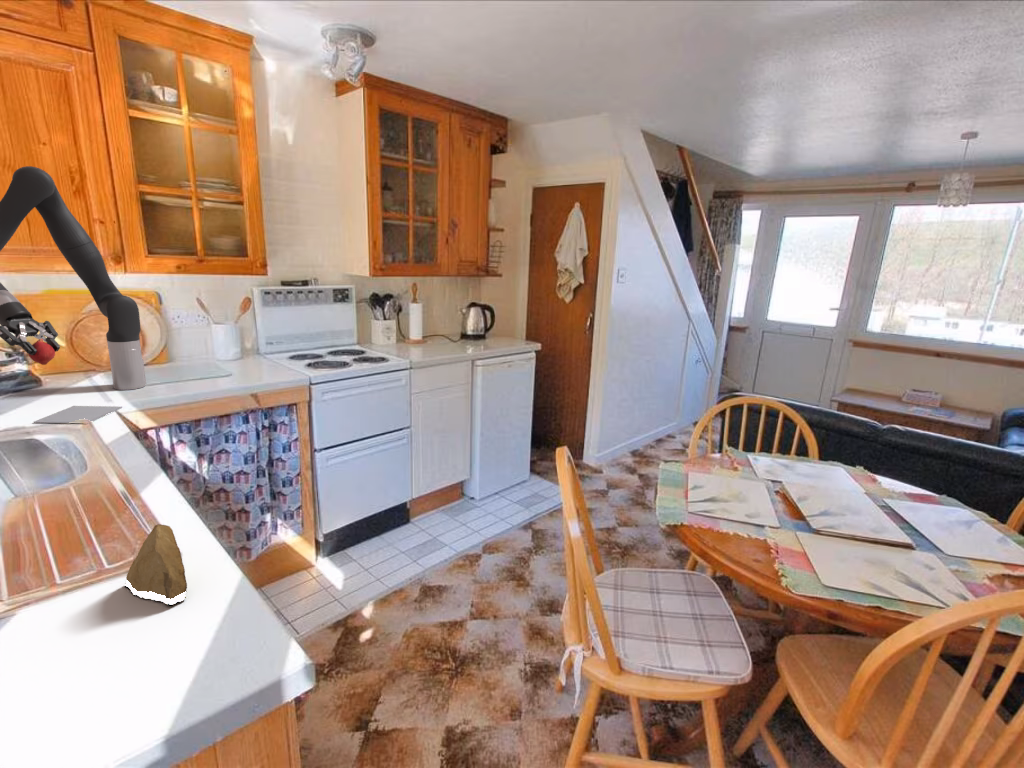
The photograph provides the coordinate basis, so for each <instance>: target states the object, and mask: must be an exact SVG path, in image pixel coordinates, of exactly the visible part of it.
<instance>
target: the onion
mask: <svg viewBox="0 0 1024 768" xmlns="http://www.w3.org/2000/svg"><path fill="white" fill-rule="evenodd" d="M31 345H32V346H33V347H34V348H35V349H36V350H37V352H36V354H35V355H30V354H28V357H29V358H30V359H31V360H32V361H33V362H35V363H37V364H40V365H42V366H45V365H47V364H49V362H51V361H52V360H53V359H54V358H55V356H56V352H55V351H54V349H53V347H52V346H50V345H49V344H47V342H45V341H43V339H37V341H36V342H34V343H32V344H31Z"/></svg>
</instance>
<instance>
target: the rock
mask: <svg viewBox="0 0 1024 768" xmlns="http://www.w3.org/2000/svg"><path fill="white" fill-rule="evenodd" d="M185 572H186V569H185V565H184V562H183V557H182V554H181V549H180V547H179V546H178V543H177V540H176V536H175V534H174V530H173V529H172V528H171V526H170V525H166V524H160V523H158V524H155V525H154V527H153V528H152V530H151V531H150V532H149V533H148V535H147V536H146V538H145V540H143V543H142V545H141V547H140V549H139V550H138V553H137V556H136V558H135V559H134V560H133V561H132V564H131V565H130V567H129V570H128V571H127V574H126V580H128V581H129V582H130V583H131V585H132V587H133V588H135V589H136V590H137V591H147V592H149V591H152V592H155V593H157V594H161V595H165V596H166V598H170V599H171V598H174V597H175V596H177V595H179V594H181V593H183V592H185V591H186V592H187V590H188V583H187V578H186V573H185Z"/></svg>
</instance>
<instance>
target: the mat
mask: <svg viewBox="0 0 1024 768" xmlns="http://www.w3.org/2000/svg"><path fill="white" fill-rule="evenodd" d="M122 408H123V406H115V405H113V406H111V405H110V406H109V405H107V406H106V405H105V406H103V405H102V406H101V405H100V406H99V405H72V406H70V407H67V408H65V409H64V408H63V409H62V410H60V411H57V412H55V413H51V414H50V415H47V416H45V417H42V418H39V419H37V420H34V421H33V422H34V423H69V422H72V421H75V420H79V419H84V418H85V419H88V420H90V421H93V422H95V421H97V420H100V419H101V418H103V416H104V415H106V414H108V413H110V414H112V413H115V412H117V411H118V410H120V409H121V410H122ZM111 412H112V413H111ZM108 415H109V414H108ZM106 416H107V415H106ZM104 417H105V416H104Z"/></svg>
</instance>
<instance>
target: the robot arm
mask: <svg viewBox="0 0 1024 768" xmlns="http://www.w3.org/2000/svg"><path fill="white" fill-rule="evenodd" d="M34 209H35V210H36V211H37V212H38V213H39V215H40V216H41V218H42V219H43V222H44V223H45V226H46V228H47V229H48V232H49V234H50V236H51V238H52V240H53V242H54V243H55V245H56V247H57V248H58V250H59V252H60V253H61V255H63V257H64V259H65V260H66V261H67V262H68V264H69V265H70V267H71V268H72V269H73V271H74V272H75V274H76V275H77V276H78V278H80V280H81V281H82V282H83V283H84V285H85V286H86V288H87V289H88V292H89V293H90V295H91V296H92V298H93V300H94V302H95V305H96V306H97V308H98V309H99V311H100V313H101V314H102V315H103V316H104V317H105V318H107V322H108V324H107V325H108V330H107V332H106V334H105V335H106V336H105V337H106V343H107V349H108V356H109V363H110V370H111V376H112V384H113V388H114V389H115V390H120V391H121V390H122V391H123V390H124V391H127V390H128V391H129V390H136V389H141V388H144V387H146V385H147V379H146V371H145V364H144V359H143V355H142V348H141V341H140V340H141V339H140V334H141V330H142V329H141V319H140V317H141V316H140V310H139V305H138V303H137V302H136V301H135V299H133V298H132V297H130V296H127V295H125V294H122V293H121V292H120V290H119V289H118V288H117V287H116V285H115V283H114V282H113V281H112V279H111V277H110V276H109V274H108V270H107V267H106V264H105V261H104V258H103V256H102V254H101V252H100V251H99V249H98V247H97V245H96V244H95V243H94V241H93V239H92V238H91V237H90V235H89V234H88V233H87V231H86V230H85V229H84V227H83V226H82V224H80V222H79V221H78V219H77V218H76V217H75V216H74V215H73V214H72V212H71V211H70V209H69V208H68V206H67V205H66V202H65V201H64V199H63V197H62V196H61V194H60V191H59V189H58V188H57V186H56V182H55V181H54V179H53V177H52V175H50V174H49V173H48V172H47V171H45V170H44V169H41V168H39V167H36V166H30V165H29V166H26V165H25V166H22V167H20V168H18V169H16V170H15V171H14V172H13V174H12V179H11V181H10V183H9V186H8V188H7V190H6V192H5V194H4V195H3V197H2V198H1V200H0V252H2V250H3V249H4V247H6V246H7V244H8V242H9V241H10V240H11V239H12V237H13V236H14V234H15V233H16V232H17V230H18V228H19V227H20V225H21V224H22V222H23V221H24V220H25V218H26V217H28V215H29V213H30V212H31V211H33V210H34ZM32 315H33V314H32V313H31V312H30V311H29V310H28V309H27V308H26V307H25V305H24V304H23V303H22V302H21V301H20V299H18V298H17V297H16V296H15V295H14V294H12V293H11V292H10V291H9V290H8V288H6V287H5V286H4V284H2V282H0V339H2V340H3V341H4V342H5V343H7V345H10V346H11V347H15V346H18V347H21V348H22V350H24V352H25V353H26V354H28V355H29V354H30V355H35V354H36V352H37V350H36V349H35V348H34V347H33V346H32V345H33V344H32V343H31V342H29V341H28V340H27V338H28V337H33V338H36V339H37V340H39V339H43V342H45V343H47V344H49V345H50V346H52V347H53V349H54V351H55V353H56V352H58V351H59V350H60V349H61V345H60V344H59V343H58V342H57V341H56V338H57V337H58V336H59V334H58V332H57V330H56V329H55V328H54V326H53V325H52V323H51V322H50V321H49V320H45V321H44V322H38V321H37V320H36V319H34V318H33V316H32ZM38 333H39V334H38Z"/></svg>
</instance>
